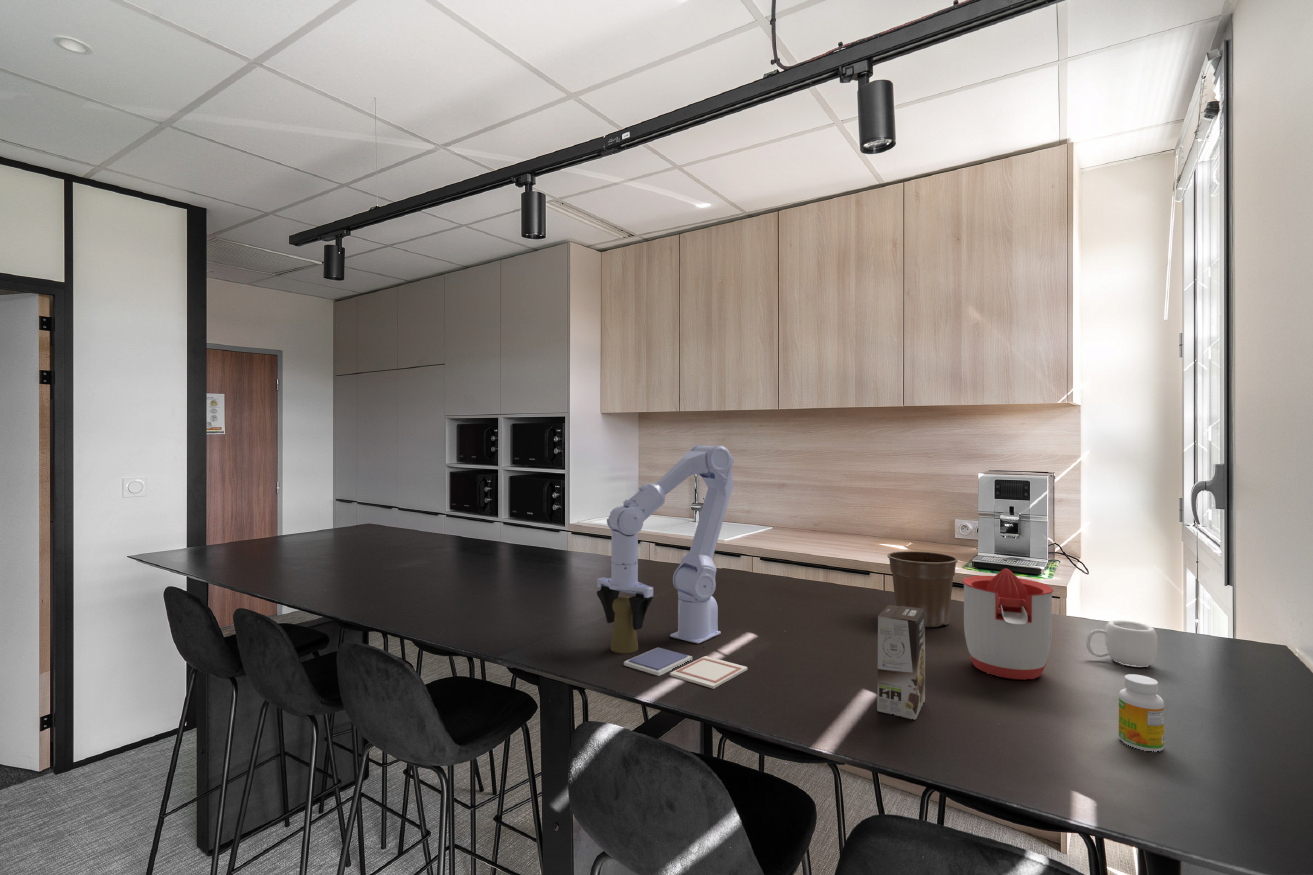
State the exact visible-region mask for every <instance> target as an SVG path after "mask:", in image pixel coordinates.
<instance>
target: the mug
mask: <svg viewBox="0 0 1313 875" xmlns="http://www.w3.org/2000/svg"><path fill="white" fill-rule="evenodd" d="M1104 629H1105V630H1104ZM1104 629H1101V628H1099V629H1093V630H1092V631H1091V630H1090V632H1089V633H1088V634H1087V637H1086V640H1085V645H1086V649H1087V651H1088V652H1089V654H1090V655H1092V656H1094V657H1097V658H1103V657H1104V658H1105V657H1107V656H1109V658H1112V659H1113V660H1115V661H1117V662H1121V663H1123V664H1129V665H1136V666H1147V665H1150V666H1152V665H1153V663H1154V661H1155V659H1156V656H1157V654H1158V636H1157V632H1156V630H1155V628H1154V627H1153V626H1150V625H1147V624H1145V623H1142V622H1137V621H1131V620H1125V619H1121V620H1120V619H1115V620H1109V621H1108V622H1107V624H1106V625H1105V628H1104ZM1095 634H1103V635H1104V642H1105V646H1106V650H1107V651H1105V652H1103V653H1102V652H1101V653H1098V652H1095V651H1094V650H1093V649H1092V647H1091V639H1092V637H1093V636H1094V635H1095ZM1112 659H1111V660H1112ZM1113 660H1112V661H1113Z"/></svg>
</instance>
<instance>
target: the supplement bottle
mask: <svg viewBox="0 0 1313 875" xmlns="http://www.w3.org/2000/svg"><path fill="white" fill-rule="evenodd" d="M1123 679H1124V682H1123V683H1124V687H1126V688H1123V689H1121V690H1120V691H1119V692H1118V739H1119V738H1120V739H1121V740H1122V741H1123V742H1125V743H1126V744H1127V745H1126V744H1125V745H1126V746H1128V745H1129V746H1128V747H1130V746H1131V747H1130V748H1132V747H1134V748H1133V749H1135V748H1137V749H1136V750H1138V749H1141V750H1140V751H1142V750H1144V751H1143V752H1146V751H1152V752H1151V753H1158V752H1157V751H1159V752H1161V751H1163V750H1164V748H1165V702H1164V700H1163V698H1162V697H1161V696H1160V695H1158V694H1157V693H1159V682H1158V681H1157V680H1156V679H1155V678H1152V677H1149V676H1146V675H1141V674H1134V673H1133V674H1131V673H1130V674H1125V675H1124V678H1123ZM1120 739H1119V740H1120ZM1123 742H1122V743H1123ZM1153 751H1154V752H1153Z"/></svg>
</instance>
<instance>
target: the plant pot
mask: <svg viewBox="0 0 1313 875" xmlns="http://www.w3.org/2000/svg"><path fill="white" fill-rule="evenodd" d="M886 555H887V558H888V560H889V566H890V572H891V574H892V584H893V591H894V592H893V594H894V606H905V607H914V608H921V609H925V628H939V626H940V627H941V626H944V625H946V626H948V625H949V624H950V617H951V616H950V615H951V605H952V604H951V602H952V593H953V592H952V591H953V582H954V577H955V573H956V566H957V564H956V563H958V562H959V559H958V557H956V556H954V555H949V554H945V553H938V552H933V551H932V552H930V551H915V550H914V551H913V550H910V551H909V550H908V551H905V550H904V551H902V550H901V551H892V552H889V553H888V554H886ZM947 624H948V625H947Z"/></svg>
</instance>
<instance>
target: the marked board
mask: <svg viewBox="0 0 1313 875" xmlns="http://www.w3.org/2000/svg"><path fill="white" fill-rule="evenodd" d="M745 671H748V667H747V666H745V665H740V664H737V663H733V662H730V661H726V660H722V659H718V658H714V657H712V656H711V657H710V656H707V655H705V656H702V657H700V658H698V659H696V660H694V661H692V662H690V663H687V664H686V665H685V664H684V666H683V665H682V666H681V667H680V668H679V667H678V669H677V668H676V669H675V670H673V671H671V672H669V676H671V677H673V678H677V679H680V680H684V681H686V682H689V683H693V684H697V685H700V686H703V687H707V688H710V689H713V690H714V689H716V688H717V687H719V686H720V685H723V684H725V683H726V682H728V681H730V680H732V679H733V678H735V677H737V676H739V675H740V674H742V673H744V672H745Z"/></svg>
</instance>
